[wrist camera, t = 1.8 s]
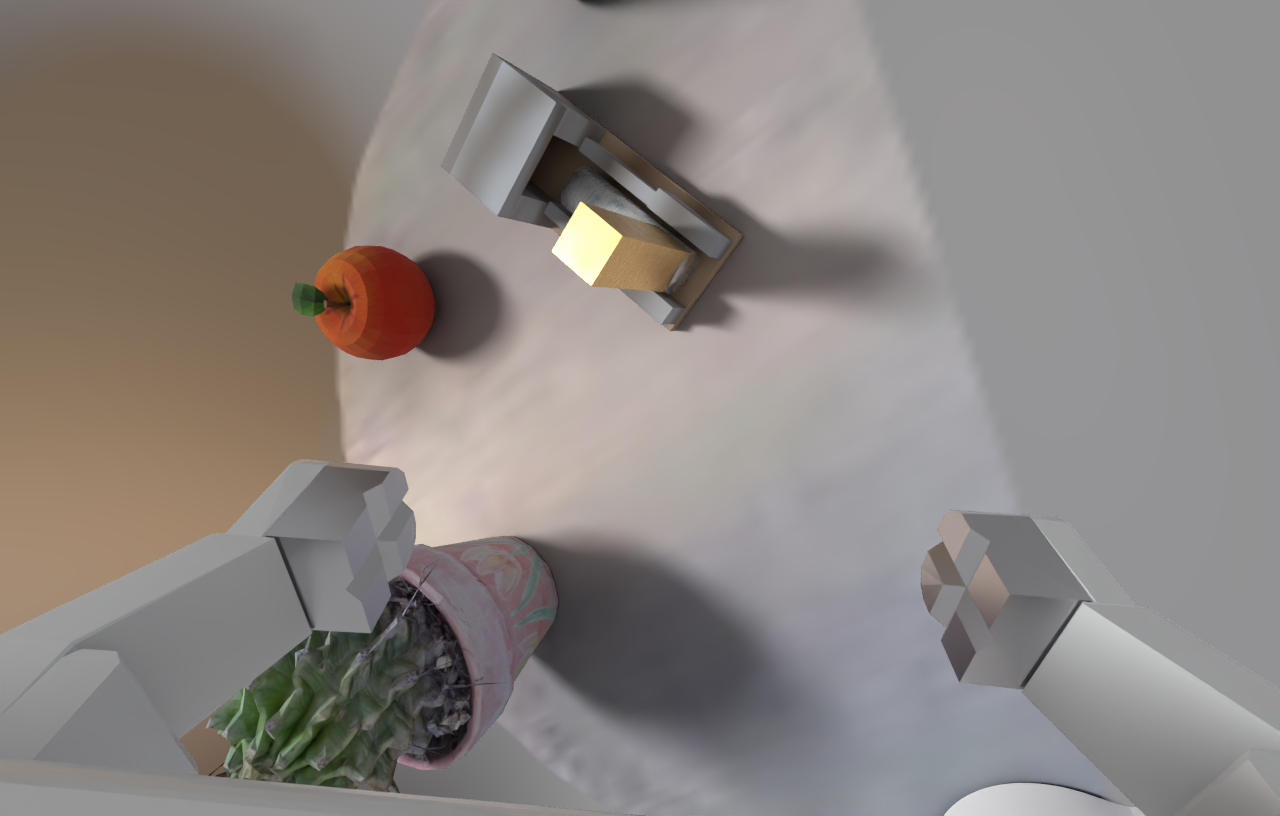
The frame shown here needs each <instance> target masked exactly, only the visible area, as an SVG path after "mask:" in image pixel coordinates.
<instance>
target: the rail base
mask: <svg viewBox="0 0 1280 816" xmlns="http://www.w3.org/2000/svg"><path fill="white" fill-rule="evenodd" d="M441 167H443V168H444V169H445V170H446V171H447V172H448V173H449V174H450V175H452V176H453V177H454V178H455V179H456V180H457V181H458V182H459V183H461V184H462V185H463V186H464V187H465V188H466V189H467V190H469V191H470V192H471V193H472V194H473V195H474V196H475V197H476V198H478V199H479V200H480V201H481V202H482V203H483V204H484V205H485V206H487V207H488V208H489V209H490V210H491V211H492V212H493V213H494V214H496V215H497V216H500V217H504V218H508V219H513V220H517V221H522V222H526V223H530V224H535V225H539V226H544V227H548V228H551V229H552V230H554V231H555V232H556V233H557V234H558V235H559V236H561V235H562V233H563V231H564V229H565V228H566V226H567V224H568V222H569V221H570V219H571V217H572V215H573V214H572V213H571V212H570V211H569V210H567V209H566V208H565V207H564V206H563V205H562V203H561V192H562V189H563V186H564V184H565V182H566V181H567V179H568V178H569V177H570V175H571V174H572V173H574V172H575V171H576V170H577V169H579V168H581V167H590V168H592V169H593V170H594V171H595V172H597V173H598V174H599V175H600V176H602V177H603V178H604V179H605V180H607V181H608V182H609V183H610V184H611V185H613V186H614V187H615V188H616V189H618V190H619V191H620V192H621V193H623V194H624V195H625V196H626V197H628V198H629V199H630V200H631V201H633V202H634V203H635V204H636V205H638V206H639V207H640V208H641V209H643V210H644V211H645V212H646V213H648V214H649V215H650V216H651V217H652V218H654V219H655V220H656V221H657V222H659V223H660V224H661V225H662V226H664V227H665V228H666V229H667V230H669V231H670V232H671V233H672V234H674V235H675V236H676V237H677V238H679V239H680V240H681V241H682V242H684V243H685V244H686V245H687V246H689V247H690V248H691V249H692V250H693V251H695V252H696V253H697V254H698V255H699V260H698V264H697V266H696V268H695V270H694V272H693V273H692V275H691V276H690V277H689V279H688V280H687V281H686V282H685V283H684V284H683V285H682V286H681V287H680V288H679V289H678V290H676V291H675V292H673V293H671V294H667V293H666V292H656V291H644V290H632V289H620V288H619V289H620V290H621V291H622V292H624V293H625V294H626V295H627V296H628V297H629V298H631V299H632V300H633V301H634V302H635V303H636V304H638V305H639V306H640V307H641V308H642V309H643V310H644V311H646V312H647V313H648V314H649V315H650V316H651V317H653V318H654V319H655V320H656V321H657V322H658V323H660V324H661V325H664V326H665V327H666V328H667V329H668V330H670V331H676V329H677V328H678V326H679V325H680V324H681V322H682V321H683V320H684V318H685V317H686V315H687V314H688V313H689V311H690V310H691V308H692V307H693V306H694V304H695V303H696V302H697V300H698V299H699V297H700V296H701V295H702V293H703V292H704V290H705V289H706V288H707V286H708V285H709V284H710V282H711V281H712V279H713V278H714V277H715V275H716V274H717V272H718V271H719V270H720V268H721V267H722V266H723V264H724V263H725V261H726V260H727V259H728V257H729V256H730V254H731V253H732V252H733V250H734V249H735V248H736V246H737V245H738V243H739V242H740V241H741V239H742V238H743V235H742V234H741V233H740V232H738V231H737V230H736V229H734V228H733V227H732V226H731V225H729V224H728V223H727V222H725V221H724V220H723V219H721V218H720V217H719V216H718V215H716V214H715V213H714V212H712V211H711V210H710V209H709V208H707V207H706V206H705V205H703V204H702V203H701V202H699V201H698V200H697V199H696V198H694V197H693V196H692V195H690V194H689V193H688V192H687V191H685V190H684V189H683V188H681V187H680V186H679V185H678V184H676V183H675V182H674V181H672V180H671V179H670V178H668V177H667V176H666V175H665V174H663V173H662V172H661V171H659V170H658V169H657V168H656V167H654V166H653V165H652V164H650V163H649V162H648V161H647V160H645V159H644V158H643V157H641V156H640V155H639V154H637V153H636V152H635V151H634V150H632V149H631V148H630V147H628V146H627V145H626V144H625V143H623V142H622V141H621V140H619V139H618V138H617V137H615V136H614V135H613V134H612V133H610V132H609V131H608V130H606V129H605V128H604V127H603V126H601V125H600V124H599V123H597V122H596V121H595V120H594V119H592V118H591V117H590V116H588V115H587V114H586V113H584V112H583V111H582V110H581V109H579V108H578V107H577V106H575V105H574V104H573V103H572V102H570V101H569V100H568V99H566V98H565V97H564V96H563V95H561V94H560V93H559V92H557V91H556V90H554V89H553V88H551V87H549V86H548V85H546V84H544V83H542V82H541V81H539V80H537V79H536V78H534V77H532V76H531V75H529V74H527V73H526V72H524V71H522V70H521V69H519V68H517V67H516V66H514V65H512V64H511V63H509V62H507V61H506V60H504V59H502V58H501V57H499V56H497V55H496V54H494V53H492V55H491V58H490V60H489V62H488V64H487V66H486V68H485V71H484V73H483V75H482V77H481V79H480V81H479V84H478V86H477V88H476V90H475V92H474V95H473V97H472V99H471V101H470V103H469V105H468V108H467V110H466V112H465V114H464V116H463V119H462V121H461V123H460V125H459V127H458V129H457V132H456V134H455V136H454V138H453V140H452V142H451V145H450V147H449V149H448V151H447V153H446V156H445V158H444V160H443V162H442V164H441Z"/></svg>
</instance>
